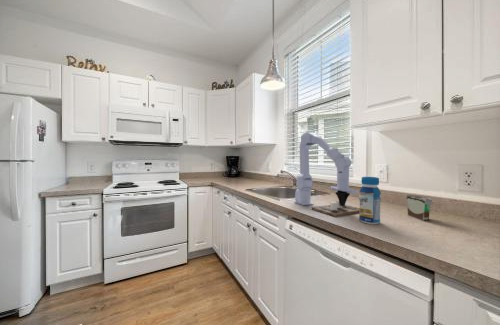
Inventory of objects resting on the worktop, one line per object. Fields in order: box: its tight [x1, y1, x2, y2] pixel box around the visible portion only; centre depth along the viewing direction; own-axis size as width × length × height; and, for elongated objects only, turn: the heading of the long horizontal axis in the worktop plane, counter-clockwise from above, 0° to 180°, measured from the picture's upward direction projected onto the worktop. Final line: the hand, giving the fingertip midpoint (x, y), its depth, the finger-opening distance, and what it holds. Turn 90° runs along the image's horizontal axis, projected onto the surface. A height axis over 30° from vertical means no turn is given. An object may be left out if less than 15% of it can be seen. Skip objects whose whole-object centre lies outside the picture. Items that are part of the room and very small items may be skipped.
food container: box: [405, 194, 434, 222], centre depth 98 cm, size 12×6×10 cm, turn 179°
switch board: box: [311, 204, 360, 218], centre depth 111 cm, size 16×22×2 cm
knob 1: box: [329, 201, 337, 210], centre depth 106 cm, size 2×3×4 cm
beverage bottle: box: [358, 176, 382, 225], centre depth 92 cm, size 8×8×20 cm
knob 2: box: [335, 199, 342, 208], centre depth 111 cm, size 2×3×4 cm
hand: (342, 205), depth 109 cm, fingers closed
